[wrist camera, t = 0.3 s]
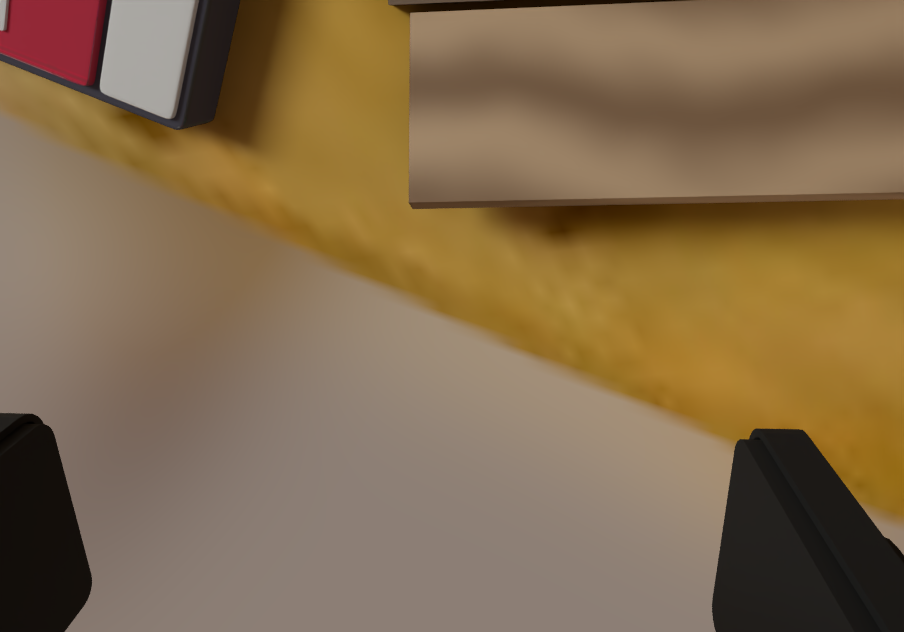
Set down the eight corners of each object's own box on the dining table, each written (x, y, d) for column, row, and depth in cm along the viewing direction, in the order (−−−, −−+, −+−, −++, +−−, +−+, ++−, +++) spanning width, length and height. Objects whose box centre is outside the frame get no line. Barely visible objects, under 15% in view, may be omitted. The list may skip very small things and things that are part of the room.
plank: (413, 19, 34) (410, 6, 33) (891, -1, 32) (906, -16, 31) (412, 208, 33) (408, 202, 32) (903, 198, 31) (919, 191, 30)
